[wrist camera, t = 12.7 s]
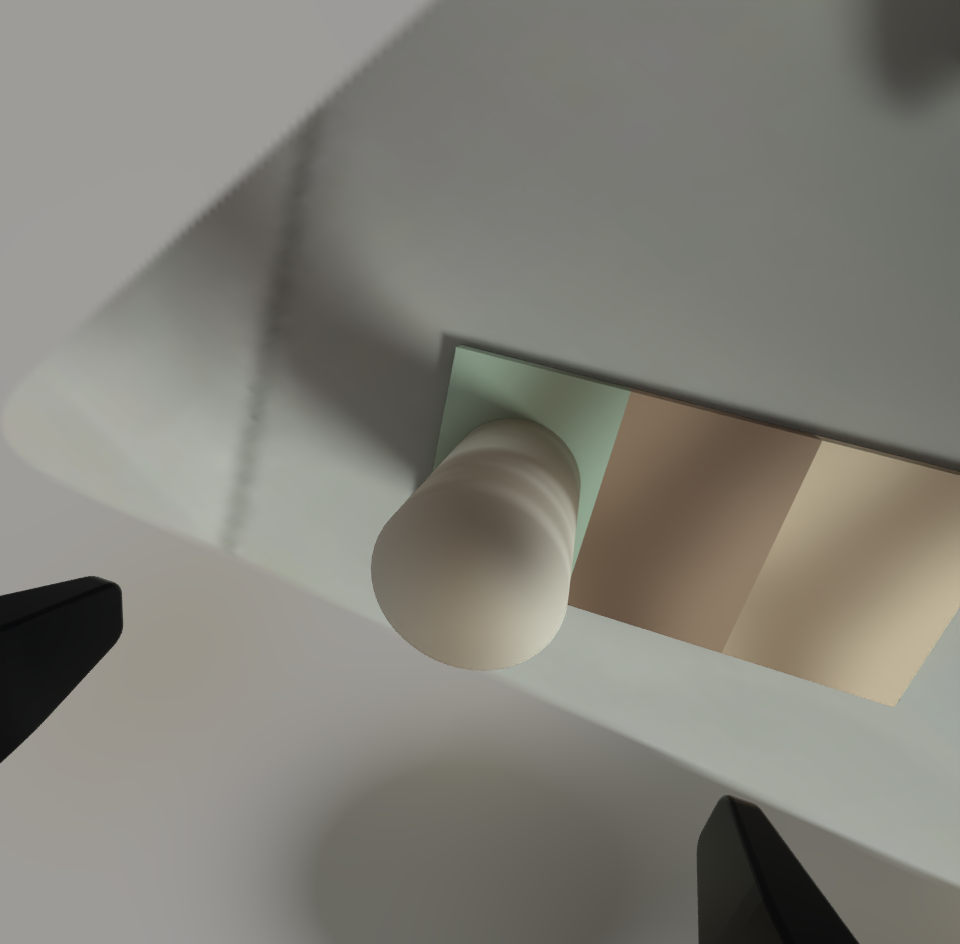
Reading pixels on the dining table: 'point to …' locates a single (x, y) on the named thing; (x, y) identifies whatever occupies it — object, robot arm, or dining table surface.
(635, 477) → the game track
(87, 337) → the dining table surface
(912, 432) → the dining table surface
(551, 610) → the beige cylinder
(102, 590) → the robot arm
